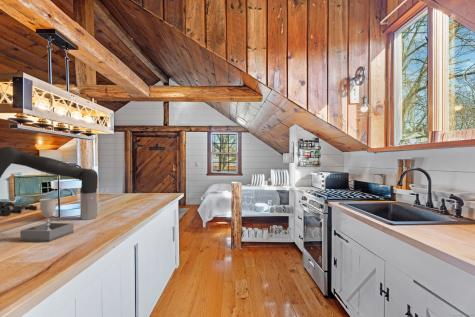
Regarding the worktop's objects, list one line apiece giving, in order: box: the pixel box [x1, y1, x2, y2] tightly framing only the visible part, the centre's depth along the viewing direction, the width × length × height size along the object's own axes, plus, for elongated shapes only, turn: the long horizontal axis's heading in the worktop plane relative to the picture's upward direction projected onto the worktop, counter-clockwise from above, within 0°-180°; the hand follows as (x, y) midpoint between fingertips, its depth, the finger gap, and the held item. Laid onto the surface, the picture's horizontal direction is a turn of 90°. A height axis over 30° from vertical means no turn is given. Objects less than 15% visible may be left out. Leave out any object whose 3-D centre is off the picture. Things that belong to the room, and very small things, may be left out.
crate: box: [19, 222, 74, 243], centre depth 123 cm, size 15×15×5 cm
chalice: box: [38, 197, 58, 231], centre depth 123 cm, size 7×7×18 cm
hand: (28, 209), depth 124 cm, fingers open, 8 cm apart
